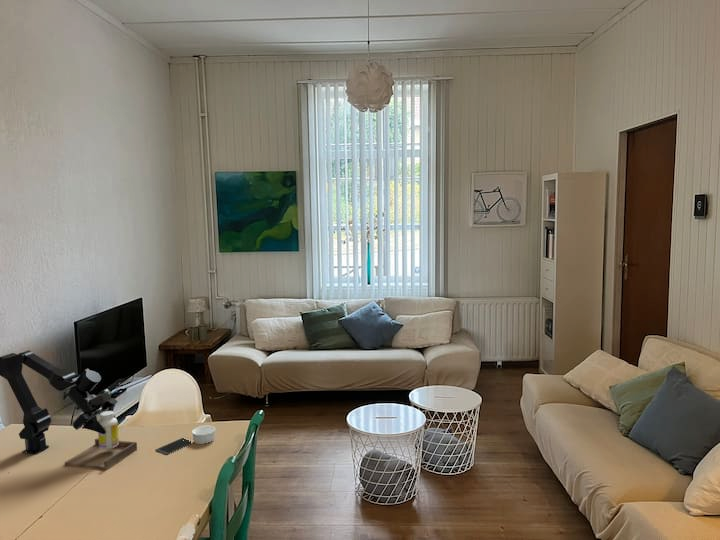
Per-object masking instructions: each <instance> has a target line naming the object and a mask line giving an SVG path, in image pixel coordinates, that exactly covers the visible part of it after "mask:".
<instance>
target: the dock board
mask: <svg viewBox="0 0 720 540" xmlns="http://www.w3.org/2000/svg"><path fill="white" fill-rule="evenodd" d="M137 444H138V443H137V442H136V441H125V440H119V444H118V445H117V446H116V447H114V448H111V449H101V448H100V447H99V437H98V438H95V439H94V444H93V445H92V446H90V447H88V448H86V449H85V450H83V451H82V452H80V453H78V454H77V455H75V456H73V457H71V458H69V459H68V460H66V461H64V466H68V465H69V467H79V468H88V469H96V470H104V471H108V470H109V469H111V468H112V467H114V466H116V465H117V464H118V463H120V462H121V461H122V460H124V459H125V458H127V457H129V456H130V455H132V454H133V453H134V452H136V451H138V445H137Z"/></svg>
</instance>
